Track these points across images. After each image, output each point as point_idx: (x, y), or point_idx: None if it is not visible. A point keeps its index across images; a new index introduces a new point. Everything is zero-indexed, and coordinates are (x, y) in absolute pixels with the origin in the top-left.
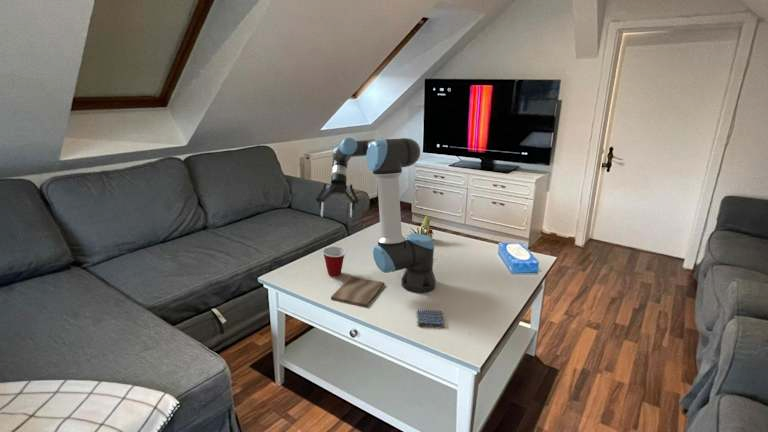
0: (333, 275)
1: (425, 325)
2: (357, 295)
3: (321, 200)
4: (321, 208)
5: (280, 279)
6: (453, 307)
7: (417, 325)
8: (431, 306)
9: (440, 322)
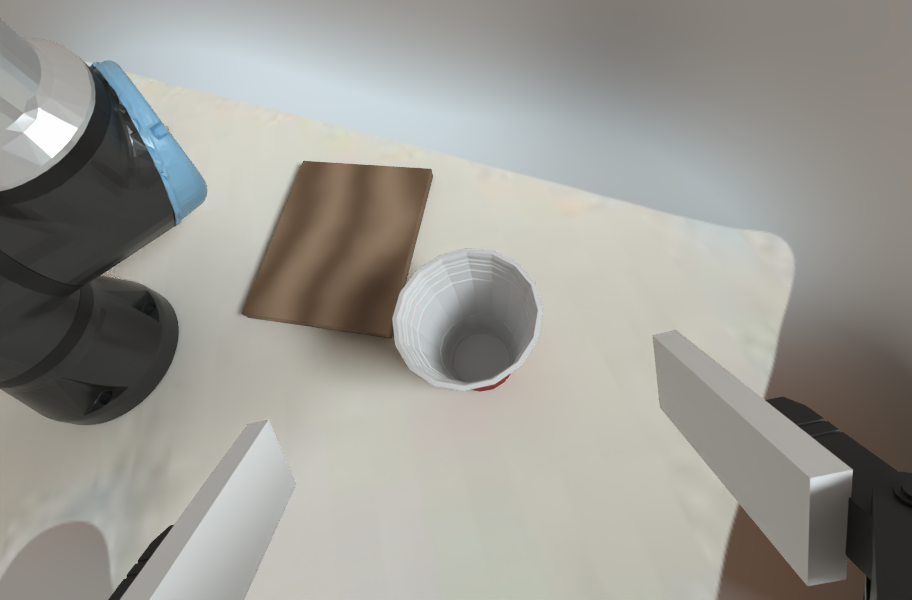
0: (476, 328)
1: None
2: (339, 199)
3: (907, 509)
4: (728, 378)
5: (708, 252)
6: None
7: (167, 127)
8: None
9: None
